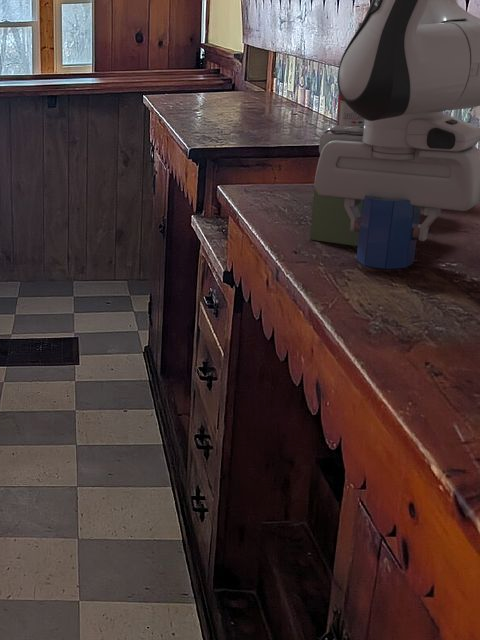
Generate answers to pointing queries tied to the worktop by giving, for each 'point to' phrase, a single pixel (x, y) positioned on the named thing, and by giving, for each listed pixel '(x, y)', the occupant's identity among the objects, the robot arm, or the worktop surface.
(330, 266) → the worktop surface
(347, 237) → the shelf
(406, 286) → the worktop surface
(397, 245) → the cup
